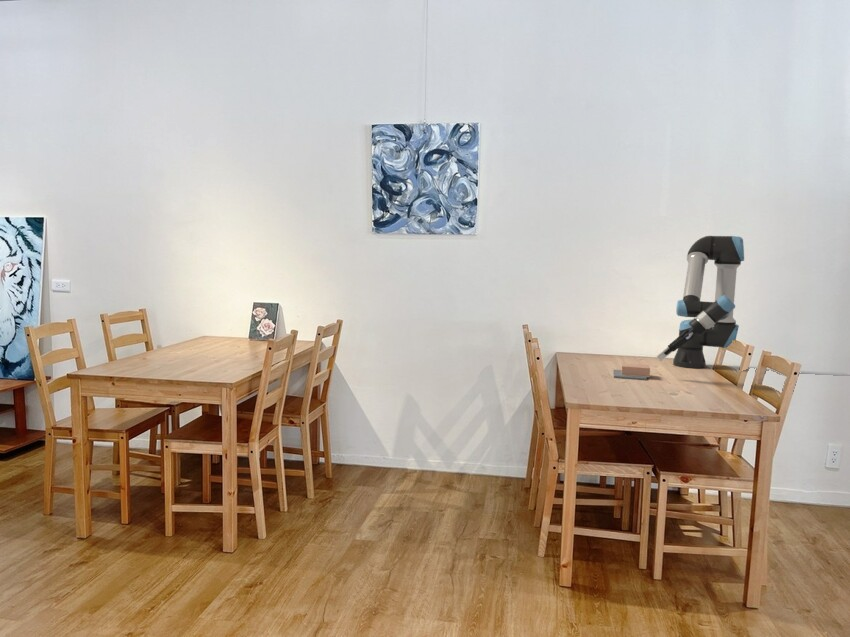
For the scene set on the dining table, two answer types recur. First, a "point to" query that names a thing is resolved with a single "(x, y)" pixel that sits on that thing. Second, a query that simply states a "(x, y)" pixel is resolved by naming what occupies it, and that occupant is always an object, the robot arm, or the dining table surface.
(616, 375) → the slate mat
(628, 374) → the terracotta block
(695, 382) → the dining table surface
